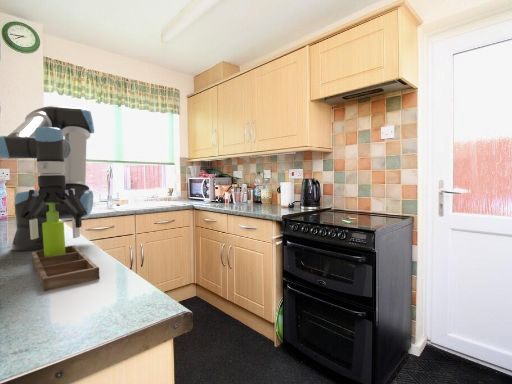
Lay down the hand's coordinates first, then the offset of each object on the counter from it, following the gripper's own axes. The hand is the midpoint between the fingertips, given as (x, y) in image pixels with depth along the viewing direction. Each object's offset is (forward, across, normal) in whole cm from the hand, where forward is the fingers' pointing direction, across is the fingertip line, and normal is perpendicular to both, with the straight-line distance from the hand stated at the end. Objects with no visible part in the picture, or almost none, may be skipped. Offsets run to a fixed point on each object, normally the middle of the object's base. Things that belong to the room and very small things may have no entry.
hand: (55, 238), depth 98 cm
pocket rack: (+8, +7, -9) cm, 14 cm away
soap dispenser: (+8, 0, 0) cm, 8 cm away
